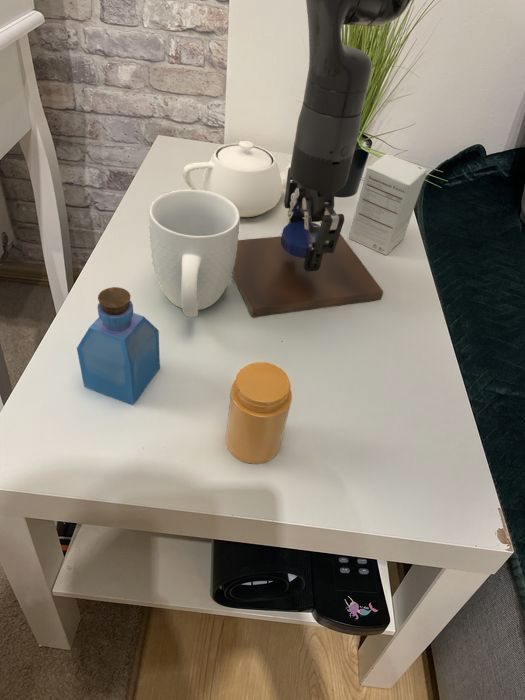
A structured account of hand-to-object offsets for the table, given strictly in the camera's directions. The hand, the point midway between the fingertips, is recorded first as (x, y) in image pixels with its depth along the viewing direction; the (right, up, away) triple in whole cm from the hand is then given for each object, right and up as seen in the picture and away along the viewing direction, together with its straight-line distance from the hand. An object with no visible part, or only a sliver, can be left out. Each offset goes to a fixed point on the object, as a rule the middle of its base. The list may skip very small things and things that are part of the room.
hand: (302, 254), depth 76 cm
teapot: (-9, +12, +15) cm, 21 cm away
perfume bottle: (-22, -17, -16) cm, 32 cm away
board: (0, -2, +2) cm, 3 cm away
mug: (-15, -7, -5) cm, 18 cm away
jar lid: (0, +2, -2) cm, 3 cm away
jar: (-7, -24, -20) cm, 32 cm away
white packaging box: (+13, +5, +12) cm, 19 cm away
